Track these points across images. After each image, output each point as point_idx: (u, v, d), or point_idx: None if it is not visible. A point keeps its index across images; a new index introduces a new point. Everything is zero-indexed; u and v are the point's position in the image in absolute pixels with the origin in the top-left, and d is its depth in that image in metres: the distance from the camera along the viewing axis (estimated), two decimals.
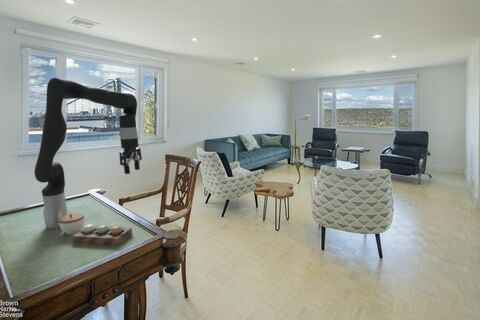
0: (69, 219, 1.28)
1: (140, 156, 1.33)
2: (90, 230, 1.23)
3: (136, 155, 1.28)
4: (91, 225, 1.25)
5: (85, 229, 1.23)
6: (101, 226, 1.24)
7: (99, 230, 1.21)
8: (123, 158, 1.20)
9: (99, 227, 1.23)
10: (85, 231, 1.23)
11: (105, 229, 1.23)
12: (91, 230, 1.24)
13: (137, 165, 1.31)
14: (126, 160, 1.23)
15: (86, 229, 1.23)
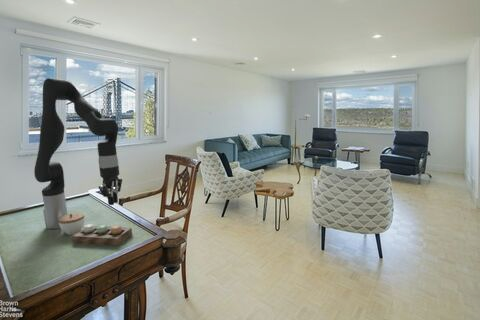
0: (69, 219, 1.28)
1: (119, 187, 1.23)
2: (90, 230, 1.23)
3: (116, 184, 1.19)
4: (91, 225, 1.25)
5: (85, 229, 1.23)
6: (101, 226, 1.24)
7: (99, 230, 1.21)
8: (105, 192, 1.14)
9: (99, 227, 1.23)
10: (85, 231, 1.23)
11: (105, 229, 1.23)
12: (91, 230, 1.24)
13: (115, 198, 1.21)
14: (108, 191, 1.17)
15: (86, 229, 1.23)
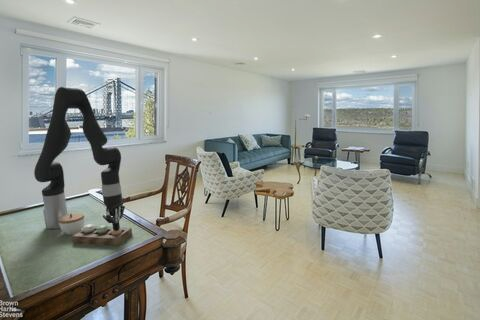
0: (69, 219, 1.28)
1: (121, 214, 1.24)
2: (90, 230, 1.23)
3: (118, 211, 1.21)
4: (91, 225, 1.25)
5: (85, 229, 1.23)
6: (101, 226, 1.24)
7: (99, 230, 1.21)
8: (109, 220, 1.17)
9: (99, 227, 1.23)
10: (85, 231, 1.23)
11: (105, 229, 1.23)
12: (91, 230, 1.24)
13: None
14: (113, 218, 1.20)
15: (86, 229, 1.23)
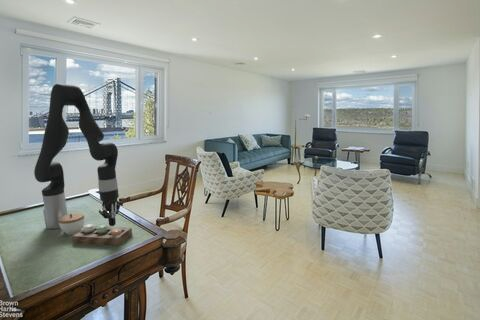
0: (69, 219, 1.28)
1: (117, 210, 1.24)
2: (90, 230, 1.23)
3: (115, 206, 1.21)
4: (91, 225, 1.25)
5: (85, 229, 1.23)
6: (101, 226, 1.24)
7: (99, 230, 1.21)
8: (105, 215, 1.17)
9: (99, 227, 1.23)
10: (85, 231, 1.23)
11: (105, 229, 1.23)
12: (91, 230, 1.24)
13: None
14: (109, 213, 1.20)
15: (86, 229, 1.23)
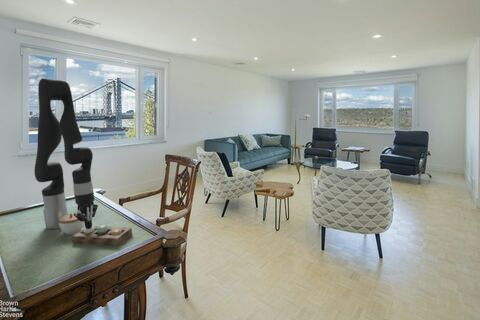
0: (69, 219, 1.28)
1: (94, 213, 1.26)
2: (91, 232, 1.24)
3: (90, 210, 1.24)
4: None
5: (85, 231, 1.23)
6: (101, 226, 1.24)
7: (99, 230, 1.21)
8: (80, 218, 1.19)
9: (99, 227, 1.23)
10: (85, 233, 1.23)
11: (105, 229, 1.23)
12: (91, 232, 1.24)
13: None
14: (85, 216, 1.22)
15: (87, 231, 1.23)
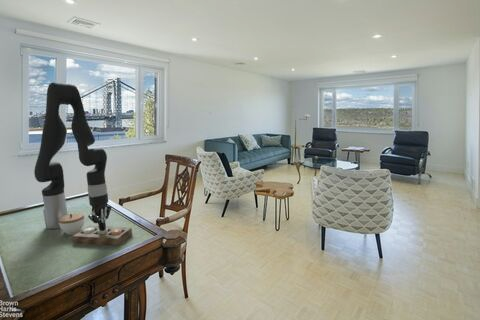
0: (69, 219, 1.28)
1: (107, 214, 1.25)
2: None
3: (104, 211, 1.22)
4: (91, 228, 1.25)
5: (85, 233, 1.23)
6: None
7: (99, 233, 1.22)
8: (95, 220, 1.18)
9: (99, 230, 1.23)
10: None
11: (105, 232, 1.23)
12: None
13: None
14: (99, 218, 1.21)
15: (87, 233, 1.23)
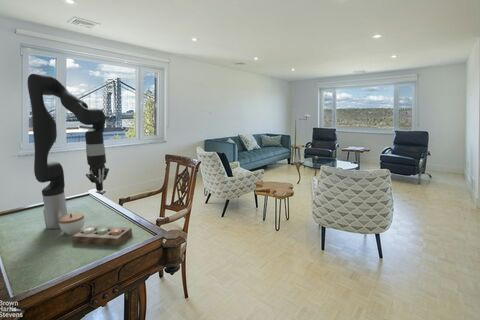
0: (69, 219, 1.28)
1: (105, 176, 1.27)
2: None
3: (102, 172, 1.24)
4: (91, 228, 1.25)
5: (85, 233, 1.23)
6: (101, 229, 1.24)
7: None
8: (92, 179, 1.20)
9: (99, 231, 1.23)
10: None
11: (105, 233, 1.23)
12: None
13: None
14: (96, 178, 1.23)
15: (87, 233, 1.23)
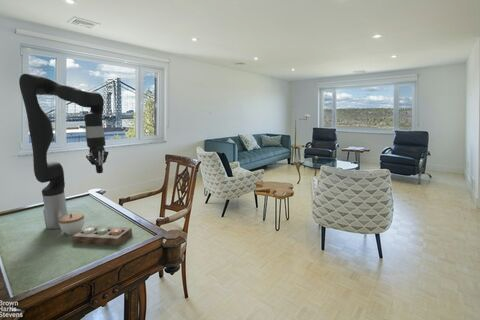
0: (69, 219, 1.28)
1: (105, 158, 1.30)
2: None
3: (102, 154, 1.27)
4: (91, 228, 1.25)
5: (85, 233, 1.23)
6: (101, 229, 1.24)
7: None
8: (92, 160, 1.22)
9: (99, 231, 1.23)
10: None
11: (105, 233, 1.23)
12: None
13: None
14: (96, 160, 1.25)
15: (87, 233, 1.23)
